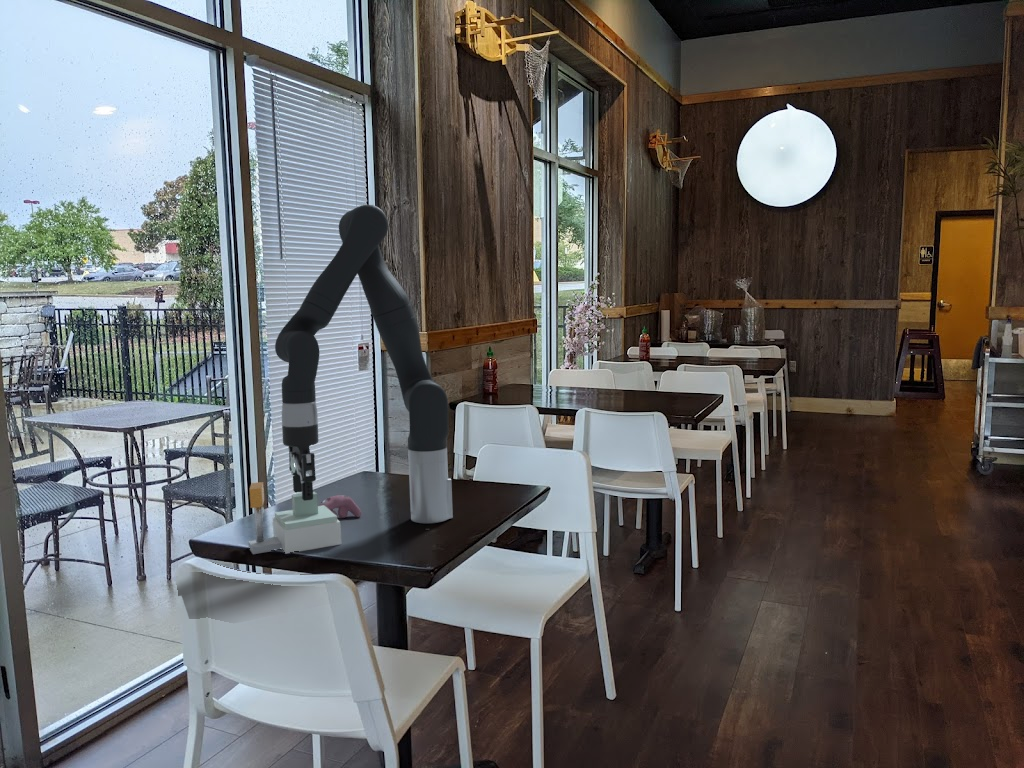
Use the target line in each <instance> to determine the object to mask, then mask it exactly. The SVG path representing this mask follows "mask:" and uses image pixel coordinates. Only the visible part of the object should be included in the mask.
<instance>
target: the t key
mask: <svg viewBox="0 0 1024 768" xmlns="http://www.w3.org/2000/svg"><path fill="white" fill-rule="evenodd" d="M249 502H250V508H251V509H253V513H254V516H253V517H254V527H255V528H254V529H255V540H256V542H263V541H264V539H265V537H264V536H265V535H264V525H263V523H264V522H263V519H264V514H265V507H264V503H265V489H264V482H263V481H261V482H260V481H259V482H251V484H250V486H249Z"/></svg>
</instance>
